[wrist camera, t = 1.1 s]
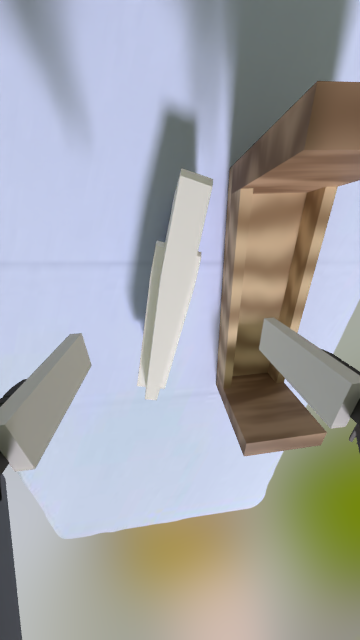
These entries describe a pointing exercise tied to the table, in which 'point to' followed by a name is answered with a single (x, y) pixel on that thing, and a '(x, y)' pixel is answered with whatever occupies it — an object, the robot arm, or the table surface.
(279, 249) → the cradle
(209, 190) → the shelf bracket
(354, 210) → the table surface
